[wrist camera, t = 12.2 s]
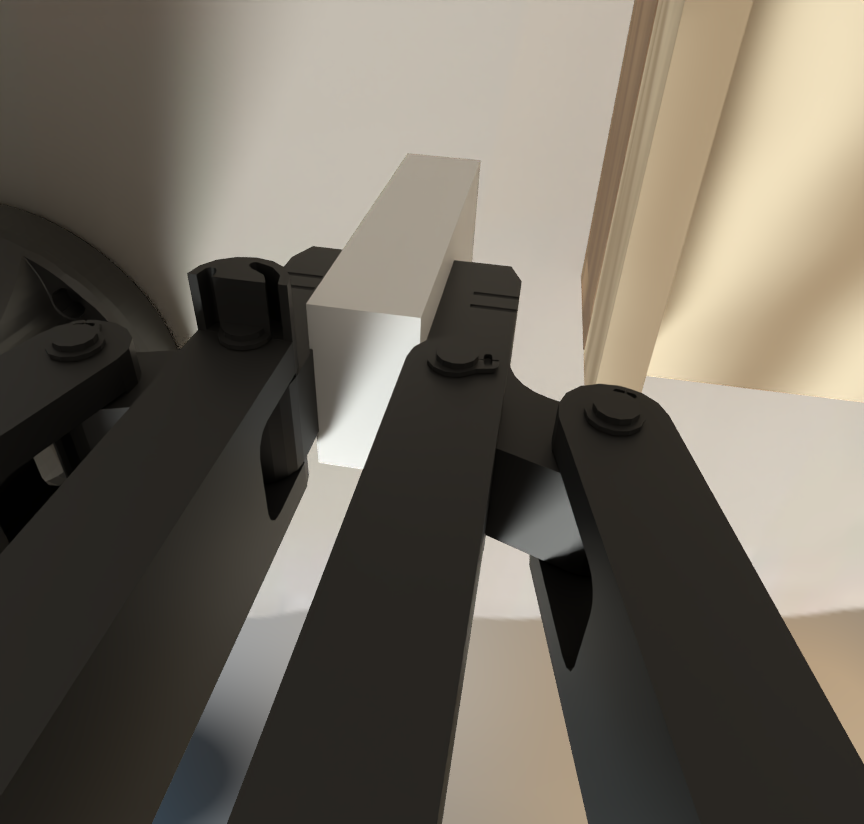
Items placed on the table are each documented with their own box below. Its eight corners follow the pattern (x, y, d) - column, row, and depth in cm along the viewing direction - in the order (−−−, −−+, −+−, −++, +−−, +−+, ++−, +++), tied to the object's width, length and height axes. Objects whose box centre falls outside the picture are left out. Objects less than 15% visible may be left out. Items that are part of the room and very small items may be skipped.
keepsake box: (580, 276, 26) (583, 349, 22) (656, -116, 19) (682, -121, 15) (908, 312, 25) (977, 397, 21) (1125, -93, 18) (1302, -90, 13)
